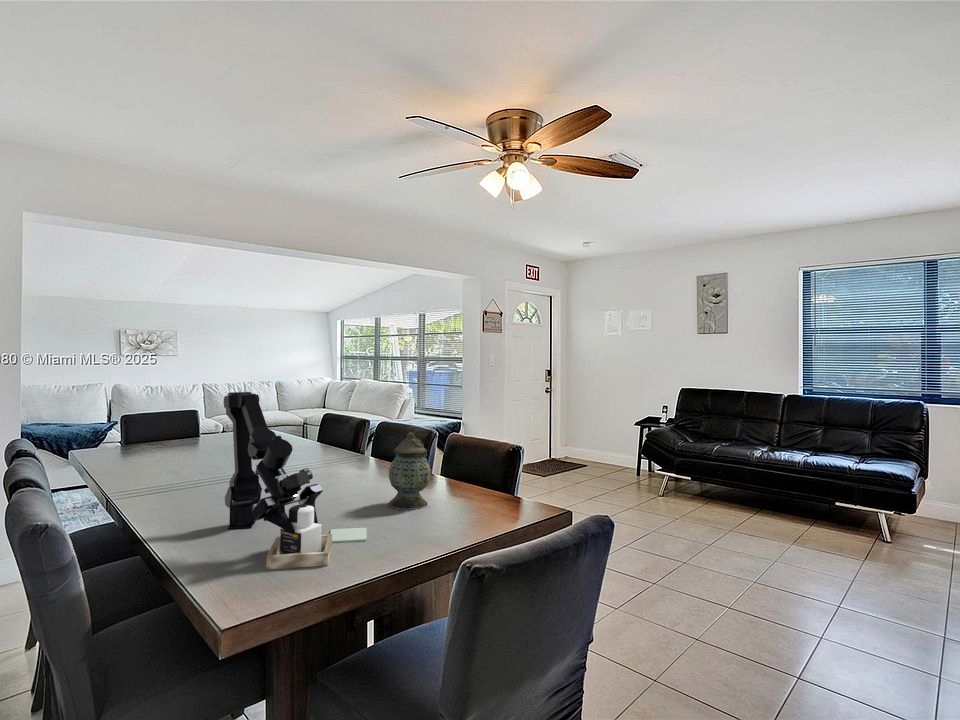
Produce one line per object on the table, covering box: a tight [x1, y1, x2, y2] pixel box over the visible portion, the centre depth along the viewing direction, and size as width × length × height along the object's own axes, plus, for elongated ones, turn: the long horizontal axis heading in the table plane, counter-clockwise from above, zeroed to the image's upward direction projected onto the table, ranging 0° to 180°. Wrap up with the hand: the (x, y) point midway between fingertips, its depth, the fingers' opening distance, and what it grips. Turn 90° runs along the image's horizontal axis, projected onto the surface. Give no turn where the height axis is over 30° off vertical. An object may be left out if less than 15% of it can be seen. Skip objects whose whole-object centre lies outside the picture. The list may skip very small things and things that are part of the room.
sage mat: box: [329, 527, 368, 544], centre depth 149 cm, size 10×10×1 cm
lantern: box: [387, 431, 432, 511], centre depth 181 cm, size 14×14×25 cm
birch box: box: [265, 533, 333, 570], centre depth 133 cm, size 14×14×3 cm
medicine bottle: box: [279, 504, 323, 554], centre depth 133 cm, size 7×7×12 cm
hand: (305, 528), depth 132 cm, fingers closed on medicine bottle, 7 cm apart
